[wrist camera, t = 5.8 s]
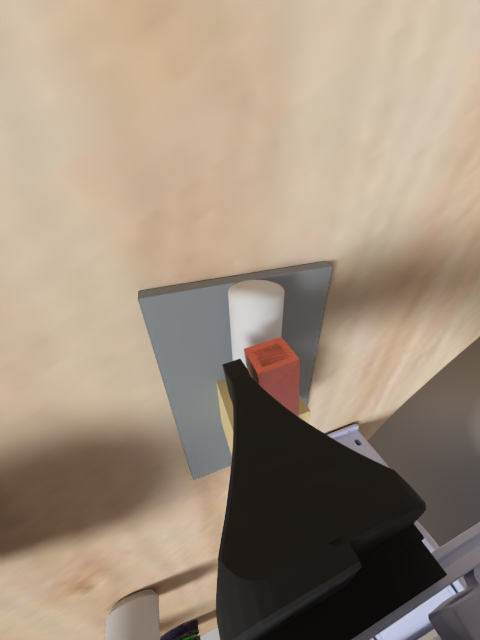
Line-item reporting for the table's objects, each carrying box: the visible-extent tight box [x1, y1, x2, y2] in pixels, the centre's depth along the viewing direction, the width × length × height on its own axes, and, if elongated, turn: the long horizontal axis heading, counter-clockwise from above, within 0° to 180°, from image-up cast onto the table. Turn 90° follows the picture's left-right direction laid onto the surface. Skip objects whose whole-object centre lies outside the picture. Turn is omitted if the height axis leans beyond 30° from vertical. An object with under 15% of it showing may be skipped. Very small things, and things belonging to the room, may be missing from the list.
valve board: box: [138, 262, 333, 480], centre depth 18 cm, size 12×20×6 cm, turn 2°
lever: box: [244, 337, 300, 417], centre depth 12 cm, size 10×2×2 cm, turn 8°
